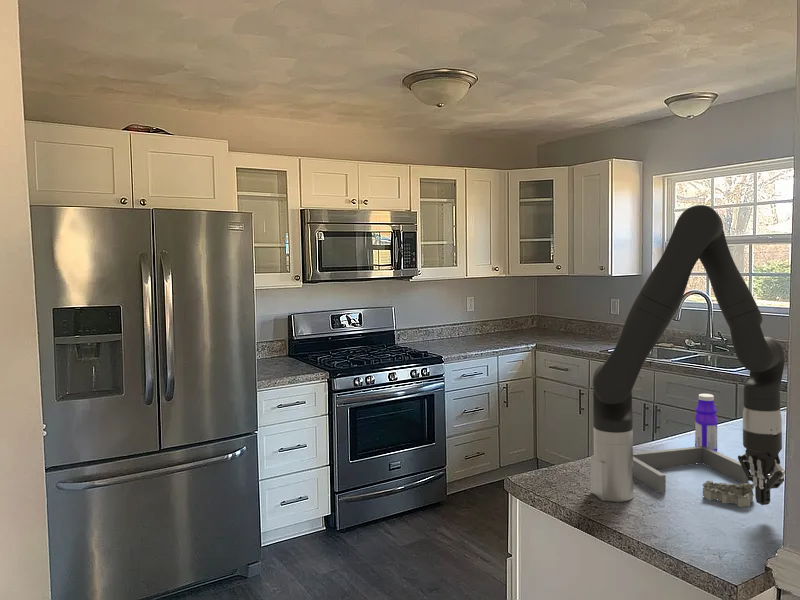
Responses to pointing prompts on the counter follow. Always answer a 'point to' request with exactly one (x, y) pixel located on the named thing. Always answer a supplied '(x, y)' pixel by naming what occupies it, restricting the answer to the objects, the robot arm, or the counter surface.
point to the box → (682, 456)
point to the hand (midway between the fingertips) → (762, 503)
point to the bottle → (706, 422)
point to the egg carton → (729, 492)
